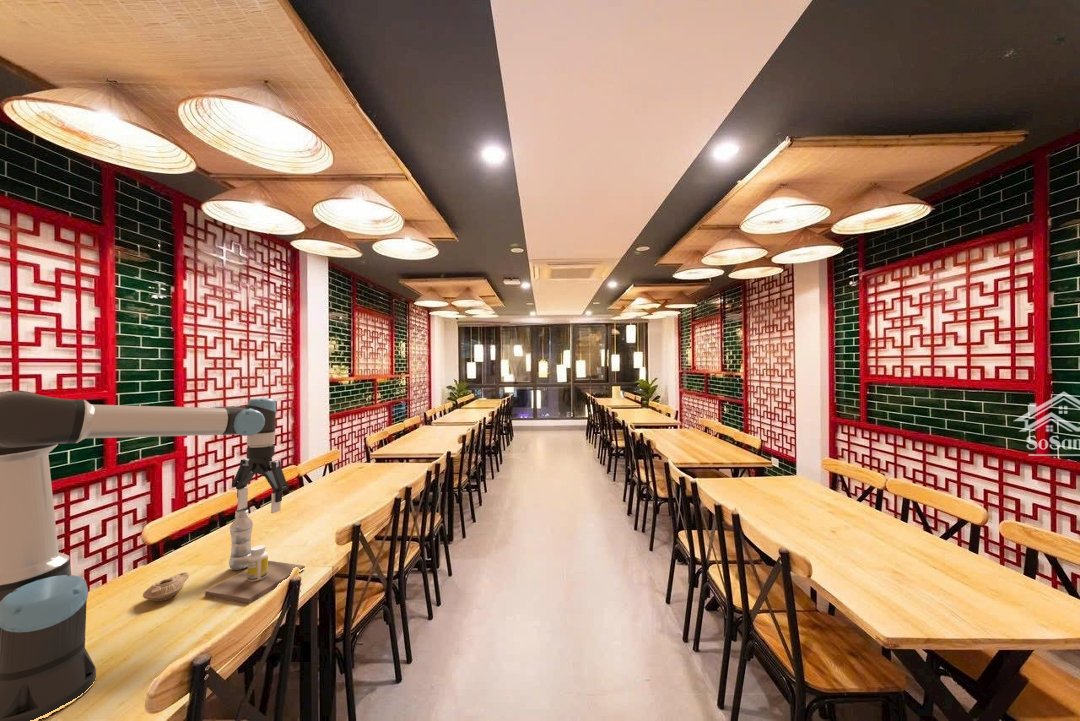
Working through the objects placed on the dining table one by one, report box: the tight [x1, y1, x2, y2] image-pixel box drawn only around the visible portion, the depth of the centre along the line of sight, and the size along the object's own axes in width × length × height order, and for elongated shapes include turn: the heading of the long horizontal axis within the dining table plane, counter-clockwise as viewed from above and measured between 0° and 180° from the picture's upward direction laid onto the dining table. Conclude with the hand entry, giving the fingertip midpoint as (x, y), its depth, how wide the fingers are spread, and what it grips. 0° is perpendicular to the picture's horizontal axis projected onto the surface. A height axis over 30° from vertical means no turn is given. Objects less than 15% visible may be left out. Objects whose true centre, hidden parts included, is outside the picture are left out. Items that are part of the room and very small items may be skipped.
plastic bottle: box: [228, 508, 254, 571], centre depth 135 cm, size 6×7×20 cm
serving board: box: [204, 560, 306, 605], centre depth 126 cm, size 20×17×2 cm
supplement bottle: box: [247, 544, 269, 582], centre depth 126 cm, size 5×5×10 cm
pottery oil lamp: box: [142, 572, 190, 602], centre depth 119 cm, size 9×12×7 cm
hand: (258, 510), depth 126 cm, fingers open, 13 cm apart
